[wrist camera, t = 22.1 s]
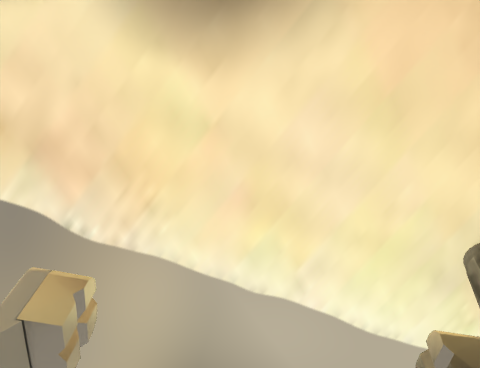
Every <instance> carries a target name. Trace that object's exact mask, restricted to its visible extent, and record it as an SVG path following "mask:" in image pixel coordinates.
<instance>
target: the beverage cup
mask: <svg viewBox="0 0 480 368" xmlns="http://www.w3.org/2000/svg"><path fill="white" fill-rule="evenodd" d="M464 265H465V268H466V271H467V276H468V278H469V281H470V284H471V286H472V289H473V291H474V294H475V297H476V299H477V302H478V305H479V307H480V243H479V244H477V245H475V246H473V247H472V248H470V249H469V250H468V251H467V252H466V254H465V256H464Z"/></svg>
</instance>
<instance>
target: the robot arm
mask: <svg viewBox="0 0 480 368" xmlns="http://www.w3.org/2000/svg"><path fill="white" fill-rule="evenodd" d="M95 291H96V284H95V279H94V278H92V277H87V276H82V275H76V274H70V273H65V272H60V271H54V270H53V271H52V270H46V269H41V268H35V267H32V268H30V269H29V270H27V271H26V272H25V274H24V275H23V276H22V277H21V279H20V280H19V281H18V283H17V284H16V285H15V286H14V288H13V289H12V290H11V292H10V293H9V294H8V296H7V297H6V298H5V299H4V301H3V302H2V303H1V305H0V368H76V366H77V364H78V362H79V360H80V358H81V356H80V347H81V346H83V345H84V344H86V343H87V342H88V341H89V339H90V337H91V335H92V333H93V330H94V326H95V323H96V319H97V303H96V302H95V300H94V299H93V298H92V297H93V295H94V293H95ZM426 343H427V346H428V350H426V351H424V352H422V353H421V354H420V355H419V358H418V360H417V362H416V368H480V337H478V336H477V337H475V336H470V335H463V334H456V333H450V332H443V331H436V330H434V331H432V332H431V333H430V334H429V336H428V338H427V340H426Z"/></svg>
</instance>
